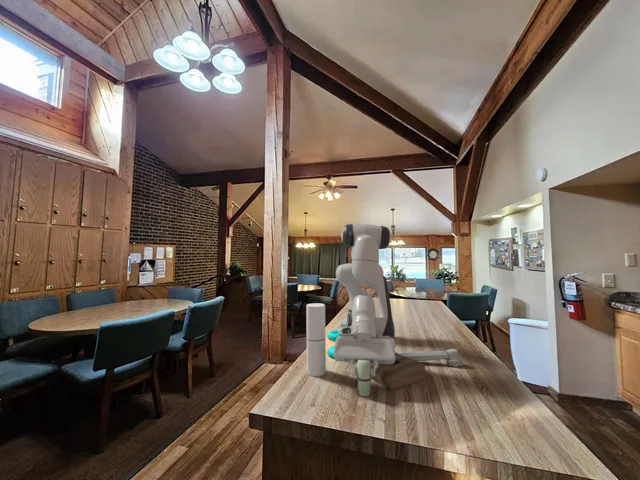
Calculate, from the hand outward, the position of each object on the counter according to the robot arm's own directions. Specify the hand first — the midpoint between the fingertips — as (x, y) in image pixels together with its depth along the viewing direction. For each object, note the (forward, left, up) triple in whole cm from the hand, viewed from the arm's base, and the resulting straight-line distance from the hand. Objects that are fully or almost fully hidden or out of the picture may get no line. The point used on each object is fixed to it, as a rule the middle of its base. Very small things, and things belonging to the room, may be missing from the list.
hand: (364, 375), depth 87 cm
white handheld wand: (-6, +38, -6) cm, 39 cm away
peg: (0, +1, -6) cm, 6 cm away
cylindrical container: (-22, -5, -6) cm, 24 cm away
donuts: (-32, +12, -6) cm, 35 cm away
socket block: (-5, +17, -6) cm, 19 cm away
